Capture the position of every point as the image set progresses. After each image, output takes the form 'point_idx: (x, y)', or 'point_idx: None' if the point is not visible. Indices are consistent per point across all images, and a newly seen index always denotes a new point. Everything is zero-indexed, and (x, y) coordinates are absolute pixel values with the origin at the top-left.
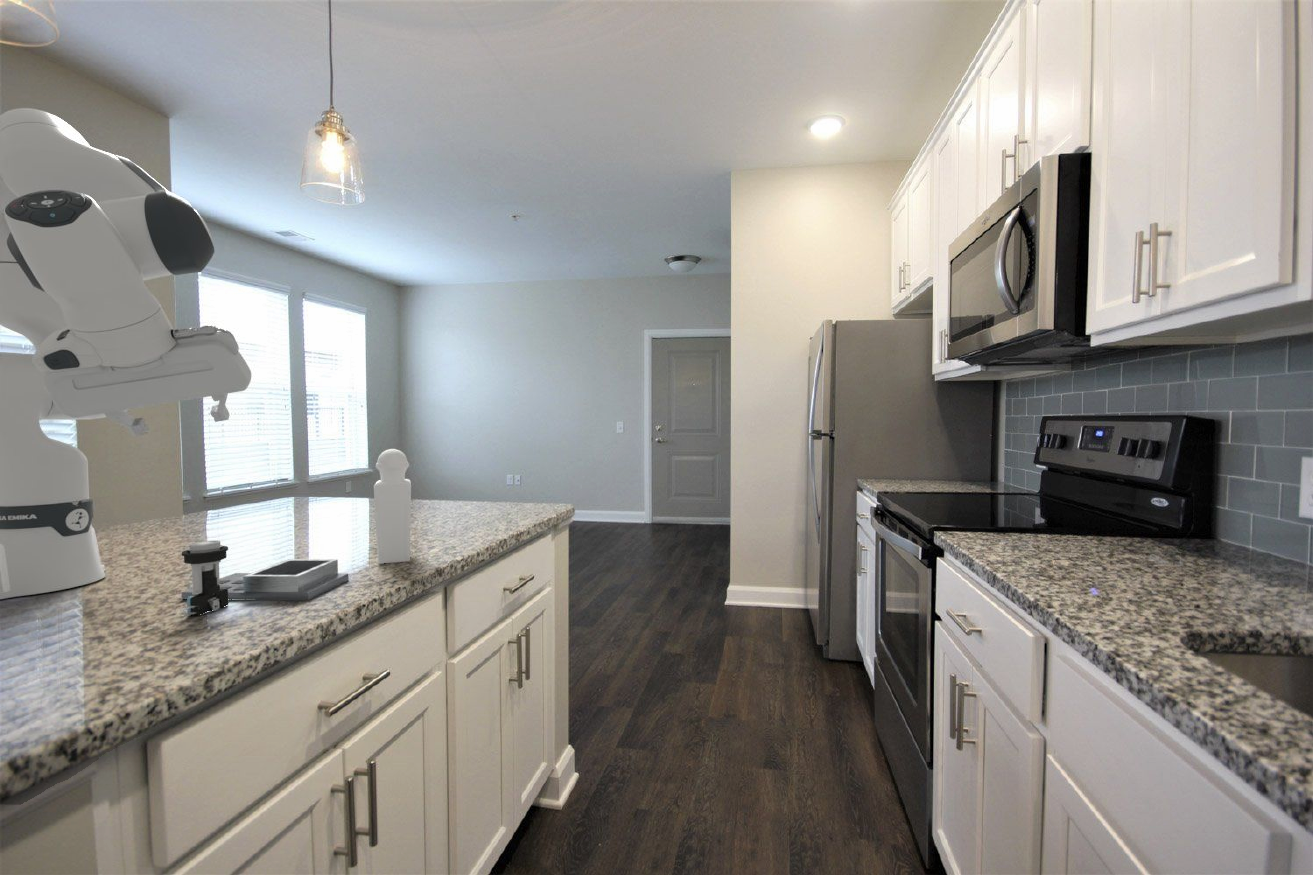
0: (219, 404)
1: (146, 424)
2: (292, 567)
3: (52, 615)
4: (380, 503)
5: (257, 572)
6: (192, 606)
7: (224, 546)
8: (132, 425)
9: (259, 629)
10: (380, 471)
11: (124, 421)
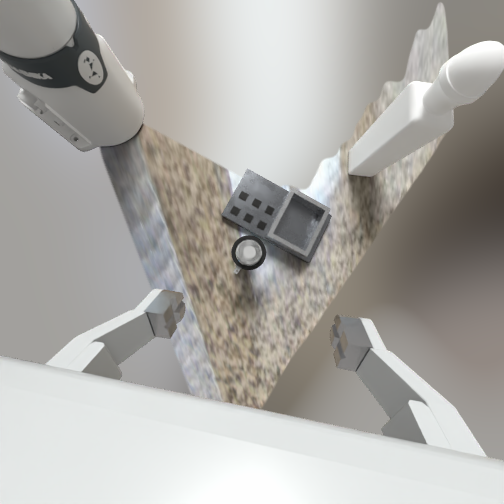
0: (383, 407)
1: (175, 300)
2: (293, 196)
3: (146, 215)
4: (397, 140)
5: (275, 227)
6: (239, 267)
7: (261, 243)
8: (154, 333)
9: (286, 317)
10: (438, 94)
11: (135, 350)
